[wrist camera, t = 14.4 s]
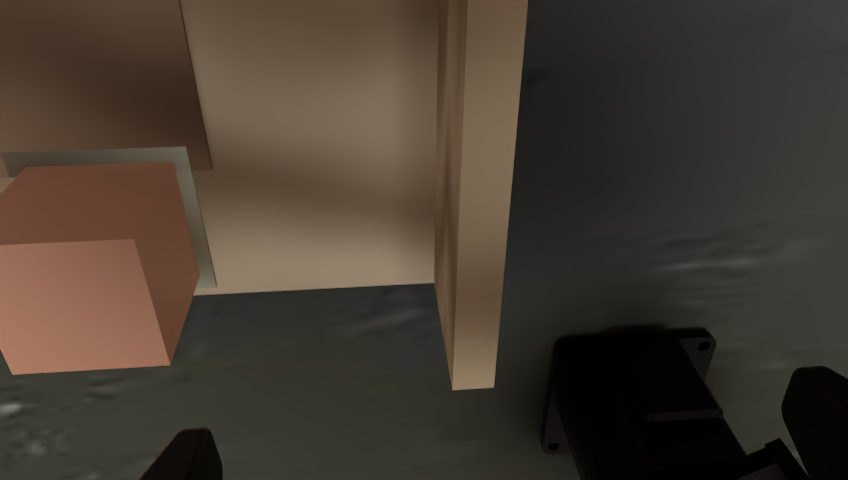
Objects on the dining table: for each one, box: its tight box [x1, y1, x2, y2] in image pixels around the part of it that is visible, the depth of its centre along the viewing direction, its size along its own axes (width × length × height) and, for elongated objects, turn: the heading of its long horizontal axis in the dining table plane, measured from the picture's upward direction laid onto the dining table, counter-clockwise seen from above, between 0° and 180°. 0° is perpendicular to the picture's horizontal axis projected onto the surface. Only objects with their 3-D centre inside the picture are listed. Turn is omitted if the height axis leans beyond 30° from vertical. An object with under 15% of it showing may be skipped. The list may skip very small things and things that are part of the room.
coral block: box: [0, 162, 200, 375], centre depth 19 cm, size 4×4×4 cm
